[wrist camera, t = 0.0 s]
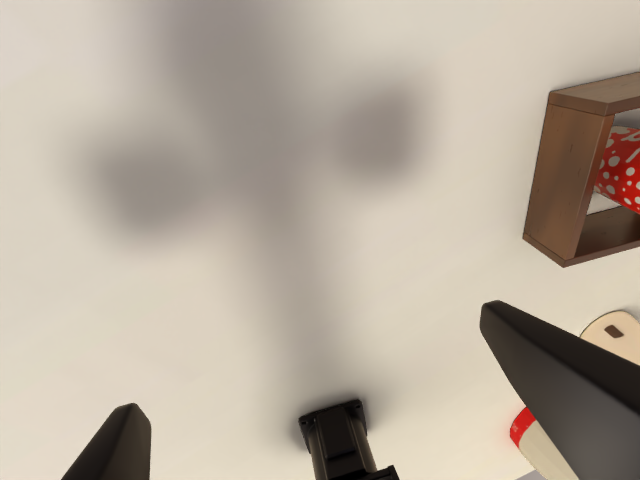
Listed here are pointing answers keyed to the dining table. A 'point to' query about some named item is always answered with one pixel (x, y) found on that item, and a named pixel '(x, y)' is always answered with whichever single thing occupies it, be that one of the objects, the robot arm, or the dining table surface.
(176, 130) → the dining table surface
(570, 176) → the crate
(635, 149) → the beverage cup
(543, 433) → the kitchen timer
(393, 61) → the dining table surface
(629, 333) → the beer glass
